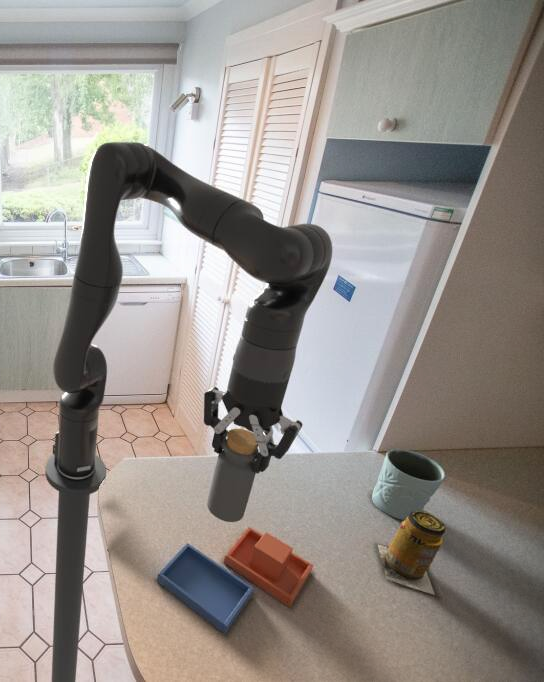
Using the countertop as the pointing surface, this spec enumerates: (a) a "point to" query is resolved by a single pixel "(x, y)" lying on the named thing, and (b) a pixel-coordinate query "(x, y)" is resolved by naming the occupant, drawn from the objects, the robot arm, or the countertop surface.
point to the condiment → (413, 551)
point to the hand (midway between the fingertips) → (237, 459)
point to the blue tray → (205, 587)
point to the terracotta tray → (280, 589)
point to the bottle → (233, 476)
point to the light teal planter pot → (406, 483)
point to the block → (270, 556)
